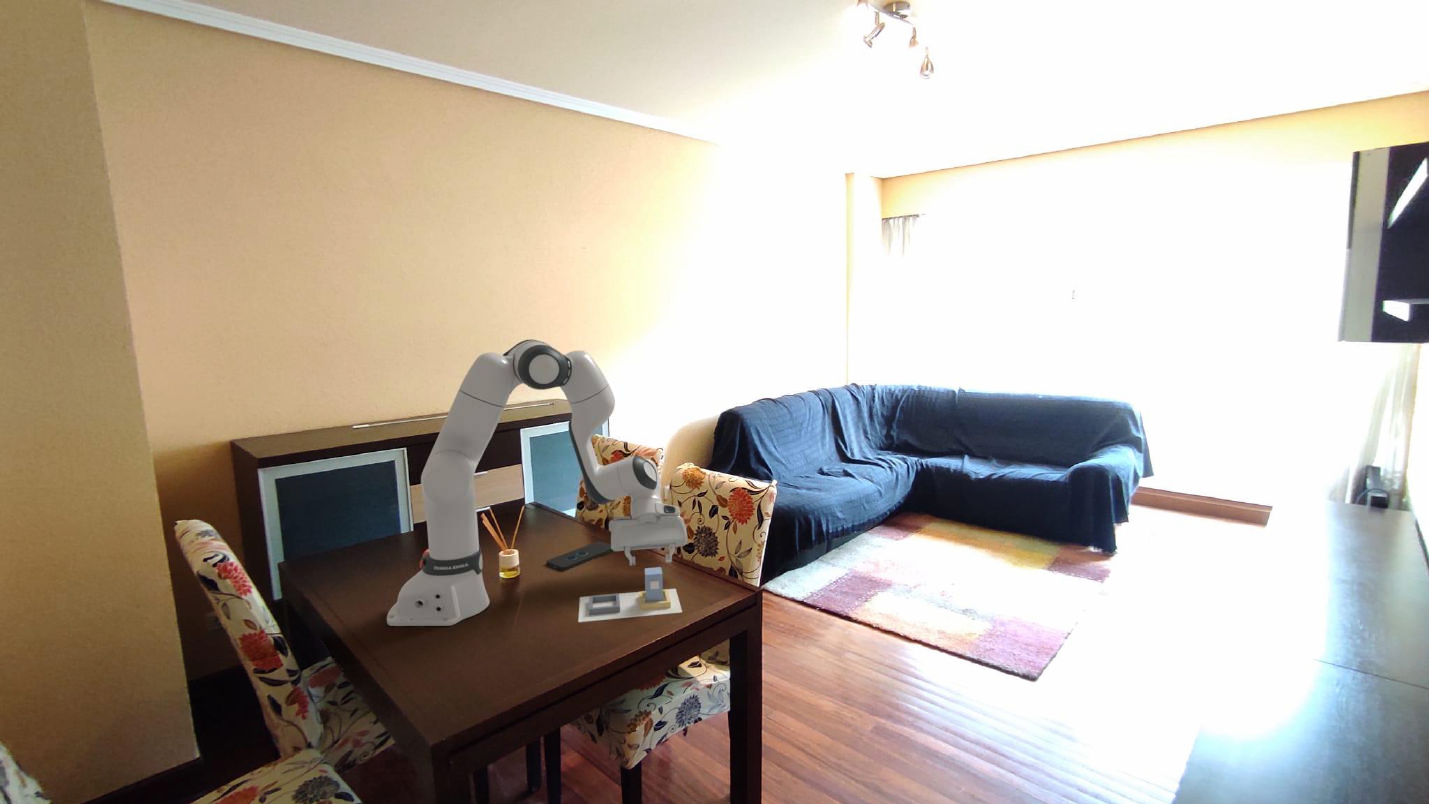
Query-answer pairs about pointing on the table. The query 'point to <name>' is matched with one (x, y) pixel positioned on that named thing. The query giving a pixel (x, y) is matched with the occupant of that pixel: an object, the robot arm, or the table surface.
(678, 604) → the white board with frames
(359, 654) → the table surface
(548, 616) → the table surface
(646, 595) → the plug
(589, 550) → the smart home device
